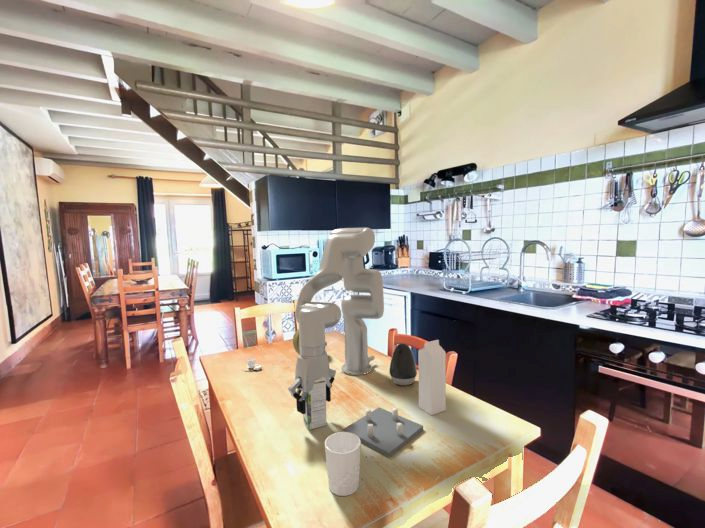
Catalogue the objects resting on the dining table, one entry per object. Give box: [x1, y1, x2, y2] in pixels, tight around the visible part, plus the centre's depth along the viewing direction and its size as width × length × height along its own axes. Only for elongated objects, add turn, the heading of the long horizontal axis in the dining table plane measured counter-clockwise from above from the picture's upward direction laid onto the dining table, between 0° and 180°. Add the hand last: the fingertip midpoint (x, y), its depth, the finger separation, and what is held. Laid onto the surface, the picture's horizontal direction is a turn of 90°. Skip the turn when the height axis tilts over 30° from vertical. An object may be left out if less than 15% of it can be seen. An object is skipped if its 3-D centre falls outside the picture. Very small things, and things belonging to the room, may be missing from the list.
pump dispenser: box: [389, 342, 418, 386], centre depth 124 cm, size 10×10×15 cm
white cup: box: [324, 431, 362, 497], centre depth 73 cm, size 8×8×10 cm
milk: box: [417, 339, 447, 416], centre depth 104 cm, size 6×6×22 cm
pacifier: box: [246, 358, 263, 371], centre depth 142 cm, size 9×8×4 cm
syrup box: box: [302, 377, 327, 431], centre depth 98 cm, size 6×6×14 cm
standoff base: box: [343, 406, 424, 458], centre depth 93 cm, size 16×16×4 cm
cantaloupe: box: [292, 328, 300, 356], centre depth 156 cm, size 15×15×15 cm
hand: (314, 406), depth 98 cm, fingers open, 9 cm apart
